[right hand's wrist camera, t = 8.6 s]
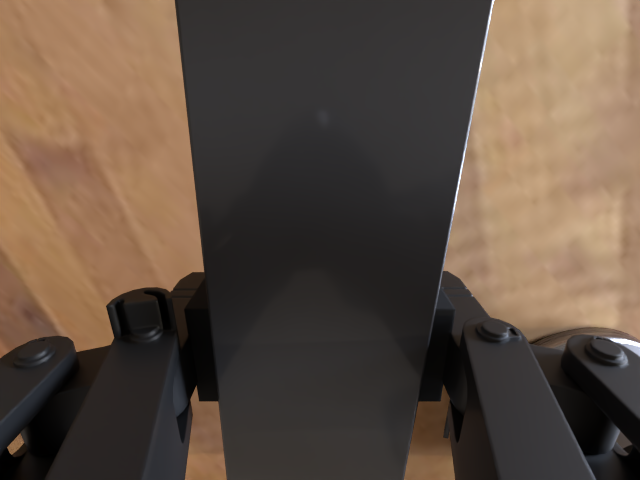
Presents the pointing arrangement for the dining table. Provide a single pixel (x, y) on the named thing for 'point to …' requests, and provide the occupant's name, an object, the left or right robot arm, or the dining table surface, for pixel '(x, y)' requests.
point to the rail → (325, 216)
